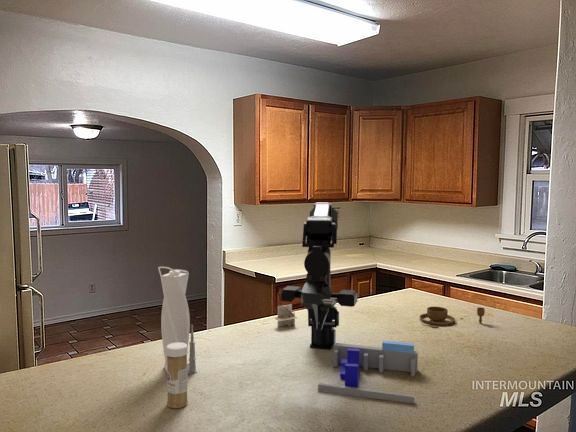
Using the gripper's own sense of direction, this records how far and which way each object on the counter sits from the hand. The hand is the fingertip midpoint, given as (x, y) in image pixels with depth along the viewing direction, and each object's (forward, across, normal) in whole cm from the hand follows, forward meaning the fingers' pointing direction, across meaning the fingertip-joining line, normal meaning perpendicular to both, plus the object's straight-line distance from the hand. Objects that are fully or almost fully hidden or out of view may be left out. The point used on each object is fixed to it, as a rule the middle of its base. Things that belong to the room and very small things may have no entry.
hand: (318, 329), depth 122 cm
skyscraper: (+12, -36, -8) cm, 39 cm away
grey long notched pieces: (+12, +13, +1) cm, 18 cm away
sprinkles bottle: (+12, -26, -25) cm, 38 cm away
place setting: (+13, +33, +58) cm, 68 cm away
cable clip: (+12, +8, 0) cm, 15 cm away
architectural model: (+13, -20, +37) cm, 44 cm away
